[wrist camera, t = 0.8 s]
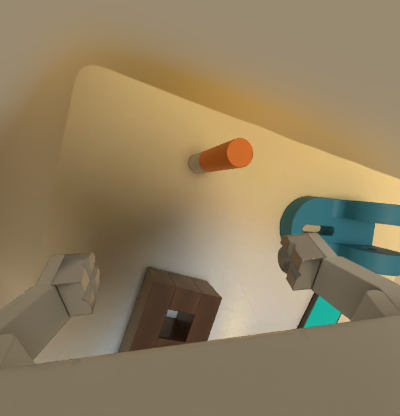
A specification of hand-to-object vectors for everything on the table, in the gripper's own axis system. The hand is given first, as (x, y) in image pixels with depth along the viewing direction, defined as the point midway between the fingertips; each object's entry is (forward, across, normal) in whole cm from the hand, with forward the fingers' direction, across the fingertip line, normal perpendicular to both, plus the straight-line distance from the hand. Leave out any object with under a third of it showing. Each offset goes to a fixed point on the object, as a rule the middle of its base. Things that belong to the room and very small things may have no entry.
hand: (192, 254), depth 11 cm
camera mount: (+25, -26, +20) cm, 41 cm away
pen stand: (+15, +4, +28) cm, 32 cm away
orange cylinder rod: (+26, -4, +7) cm, 28 cm away
